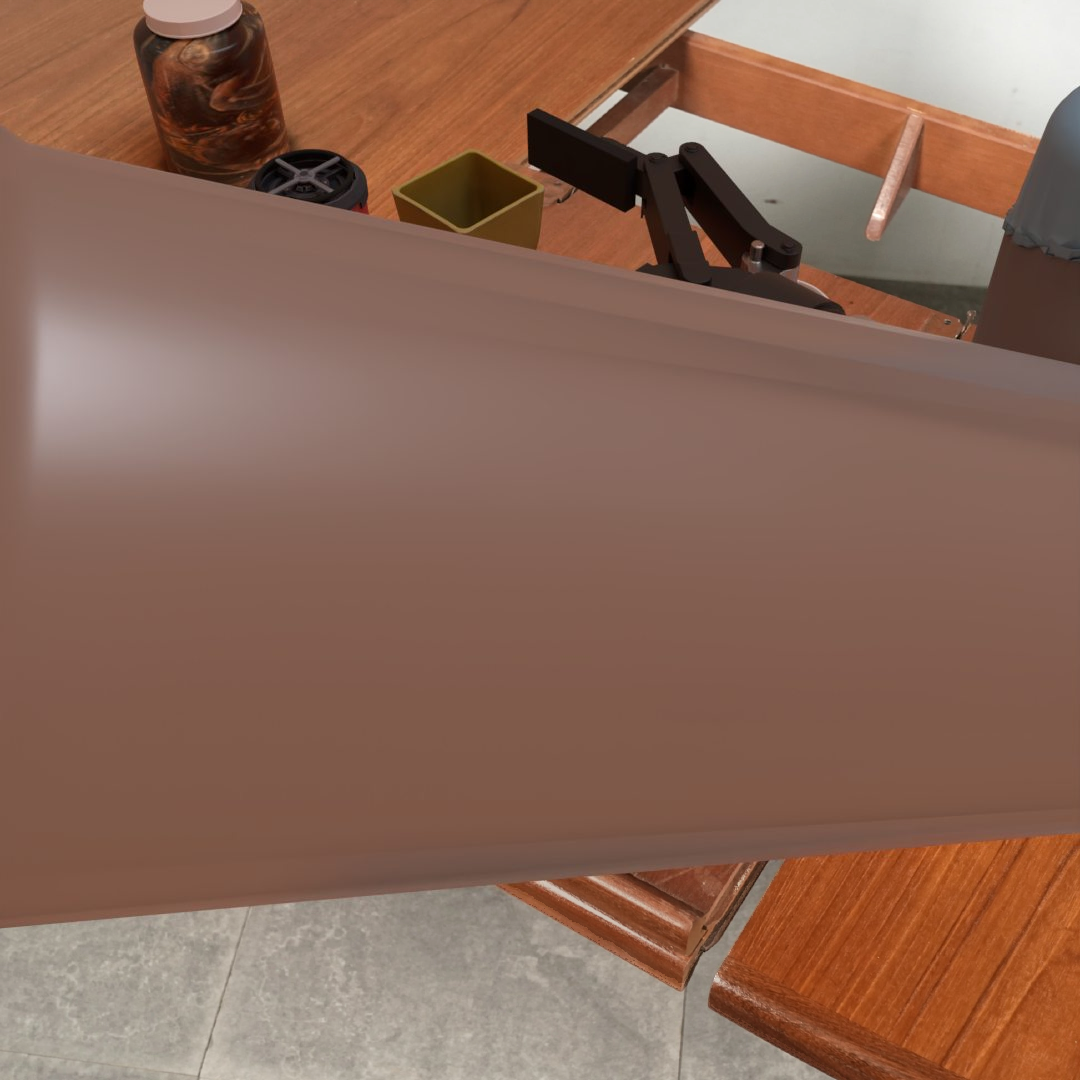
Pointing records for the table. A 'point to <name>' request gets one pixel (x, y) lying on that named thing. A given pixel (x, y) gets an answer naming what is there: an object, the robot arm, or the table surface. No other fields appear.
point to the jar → (211, 88)
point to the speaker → (314, 179)
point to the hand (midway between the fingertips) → (431, 191)
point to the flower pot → (474, 200)
